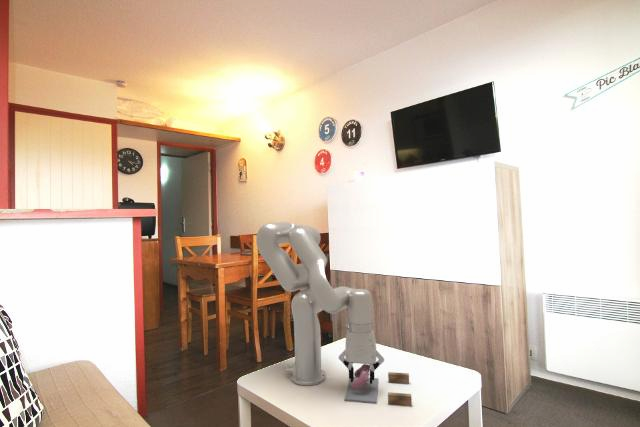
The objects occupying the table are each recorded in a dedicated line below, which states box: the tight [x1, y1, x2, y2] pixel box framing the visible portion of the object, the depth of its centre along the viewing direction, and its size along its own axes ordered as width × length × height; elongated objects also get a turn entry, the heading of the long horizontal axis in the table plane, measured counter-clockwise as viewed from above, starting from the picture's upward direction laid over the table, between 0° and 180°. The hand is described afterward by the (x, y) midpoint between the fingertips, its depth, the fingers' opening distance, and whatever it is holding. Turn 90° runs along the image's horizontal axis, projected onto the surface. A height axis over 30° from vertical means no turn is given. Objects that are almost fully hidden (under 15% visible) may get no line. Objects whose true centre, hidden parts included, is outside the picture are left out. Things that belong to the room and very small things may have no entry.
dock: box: [387, 371, 413, 408], centre depth 112 cm, size 7×16×3 cm, turn 168°
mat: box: [343, 376, 379, 405], centre depth 114 cm, size 10×16×1 cm, turn 168°
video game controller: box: [352, 364, 370, 389], centre depth 114 cm, size 10×5×7 cm, turn 168°
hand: (361, 380), depth 115 cm, fingers closed on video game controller, 5 cm apart
